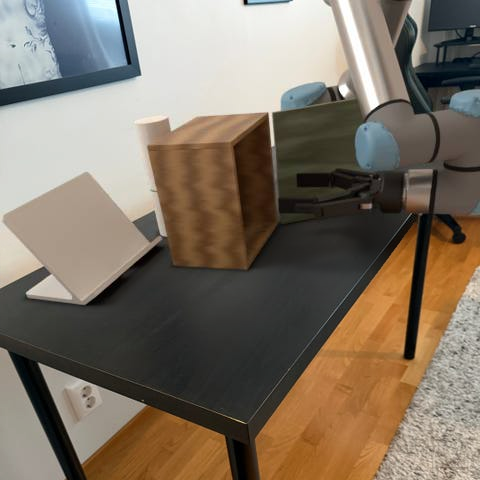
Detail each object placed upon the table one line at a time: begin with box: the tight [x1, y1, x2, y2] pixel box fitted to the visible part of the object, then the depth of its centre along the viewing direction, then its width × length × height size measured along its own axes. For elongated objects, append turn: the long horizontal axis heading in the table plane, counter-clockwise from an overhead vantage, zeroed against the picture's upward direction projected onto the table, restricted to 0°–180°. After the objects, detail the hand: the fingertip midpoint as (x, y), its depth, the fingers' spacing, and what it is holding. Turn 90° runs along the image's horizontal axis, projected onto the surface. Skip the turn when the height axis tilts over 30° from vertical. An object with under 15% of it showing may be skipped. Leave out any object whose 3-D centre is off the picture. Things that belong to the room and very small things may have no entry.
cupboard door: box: [271, 98, 376, 225], centre depth 105 cm, size 6×22×24 cm, turn 100°
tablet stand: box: [0, 171, 163, 306], centre depth 95 cm, size 18×25×17 cm
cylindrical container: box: [134, 114, 172, 237], centre depth 106 cm, size 7×7×25 cm
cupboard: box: [147, 111, 279, 271], centre depth 96 cm, size 16×22×24 cm
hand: (288, 192), depth 92 cm, fingers open, 13 cm apart
